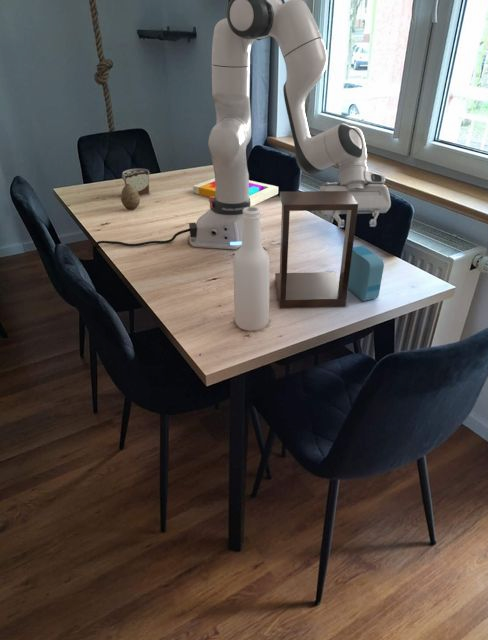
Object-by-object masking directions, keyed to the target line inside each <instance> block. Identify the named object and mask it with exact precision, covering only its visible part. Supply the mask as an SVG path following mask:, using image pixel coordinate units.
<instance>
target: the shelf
mask: <svg viewBox="0 0 488 640" xmlns="http://www.w3.org/2000/svg"><path fill="white" fill-rule="evenodd" d="M279 199H280V204H281V222H280V223H281V224H280V226H281V227H280V247H279V249H280V250H279V251H280V253H279V272H276V273H275V274H274V282H275V286H276V293H277V294H276V295H277V300H278V305H279V309H296V308H297V309H300V308H343V307H344V308H345V307H346V305H347V304H346V303H347V297H348V296H347V295H348V289H349V288H348V281H349V273H350V265H351V258H352V250H353V247H354V242H355V233H356V225H357V219H358V218H357V217H358V214H357V211H358V203H357V201H356V200H355V198H354V197H353V195H352V194H351V192H350V191H320V190H314V191H313V190H312V191H311V190H309V191H307V190H306V191H279ZM324 210H347V214H346V219H345V228H344V235H343V236H344V238H343V246H342V255H341V264H340V270H339V271H340V272H339V278H338V275H337V272H336V271H325V272H323V271H322V272H321V271H319V272H315V271H314V272H288V261H289V260H288V257H289V237H290V235H289V234H290V215H291V214H290V213H291V212H310V211H311V212H314V211H315V212H316V211H320V212H322V211H324Z"/></svg>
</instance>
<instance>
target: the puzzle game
mask: <svg viewBox="0 0 488 640" xmlns="http://www.w3.org/2000/svg"><path fill="white" fill-rule="evenodd" d="M192 187H193V193H194V194H196V195H201V196H205V197H208V198H209V197H210V196H214V197H216V189H215V177H214V178H210V179H208V180H206V181H205V180H204V181H203V182H200V183H197V184H195V185H192ZM278 194H279V186H277V185H273V184H268V183H264V182H258V181H255V180H250V179H249V198H250V202H251V207H254V206H256V205H257V204H260V203H262V202H264V201H266V200H268V199H271V198H272V197H275V196H277V195H278Z"/></svg>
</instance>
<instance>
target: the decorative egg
mask: <svg viewBox="0 0 488 640" xmlns="http://www.w3.org/2000/svg"><path fill="white" fill-rule="evenodd" d="M120 201H121V204H122V206H123V207H124V208H125V209H127V210H130V211H133V210H135V209H137V208H138V207H139V205H140V202H141V196H140V197H139V194H138V192H137V190H136V189H135V188H134V187H133V186H132V185H131V184H126V185H125V184H124V187H123V188H122V190H121V193H120Z"/></svg>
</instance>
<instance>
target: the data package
mask: <svg viewBox="0 0 488 640" xmlns="http://www.w3.org/2000/svg"><path fill="white" fill-rule="evenodd" d="M384 267H385V262H384V260H383V258H381V257H380V256H378V254H376V253H374V252H373V251H371V250H370V249H369V248H367V247H366V246H365V245H359V246H353V250H352V258H351V265H350V273H349V281H348V289H349V290H350V291H351V292H352V293H353V294H354V295H355V296H356V297H357V298H359V300H361V301H362V302H365V301H370V300H376V299H378V298H379V296H380V292H381V285H382V280H383V274H384Z"/></svg>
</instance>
